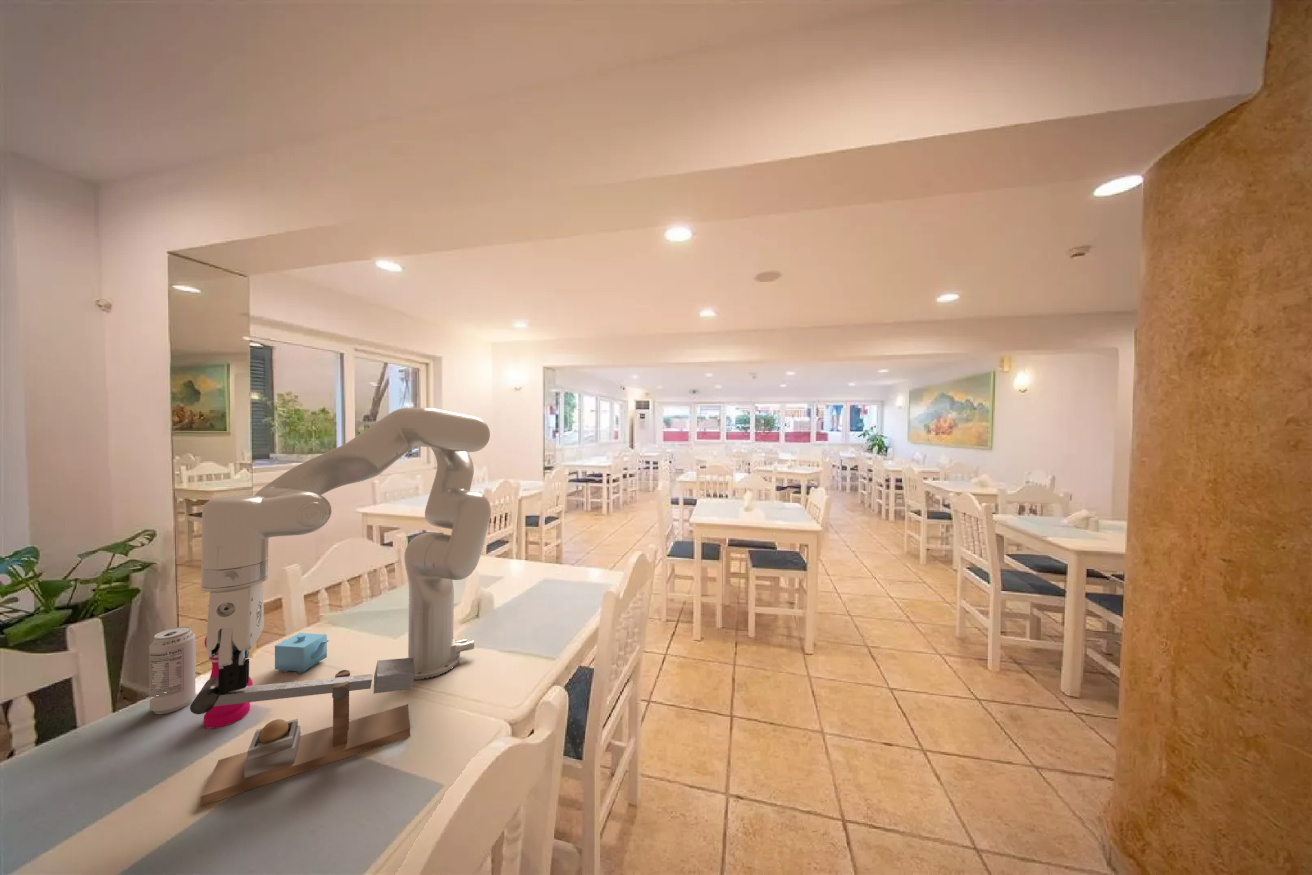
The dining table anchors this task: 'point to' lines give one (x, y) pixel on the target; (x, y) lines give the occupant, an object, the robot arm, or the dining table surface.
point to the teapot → (300, 652)
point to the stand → (306, 747)
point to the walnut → (273, 731)
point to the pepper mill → (224, 713)
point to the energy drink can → (172, 670)
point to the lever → (309, 686)
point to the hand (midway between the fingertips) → (233, 688)
